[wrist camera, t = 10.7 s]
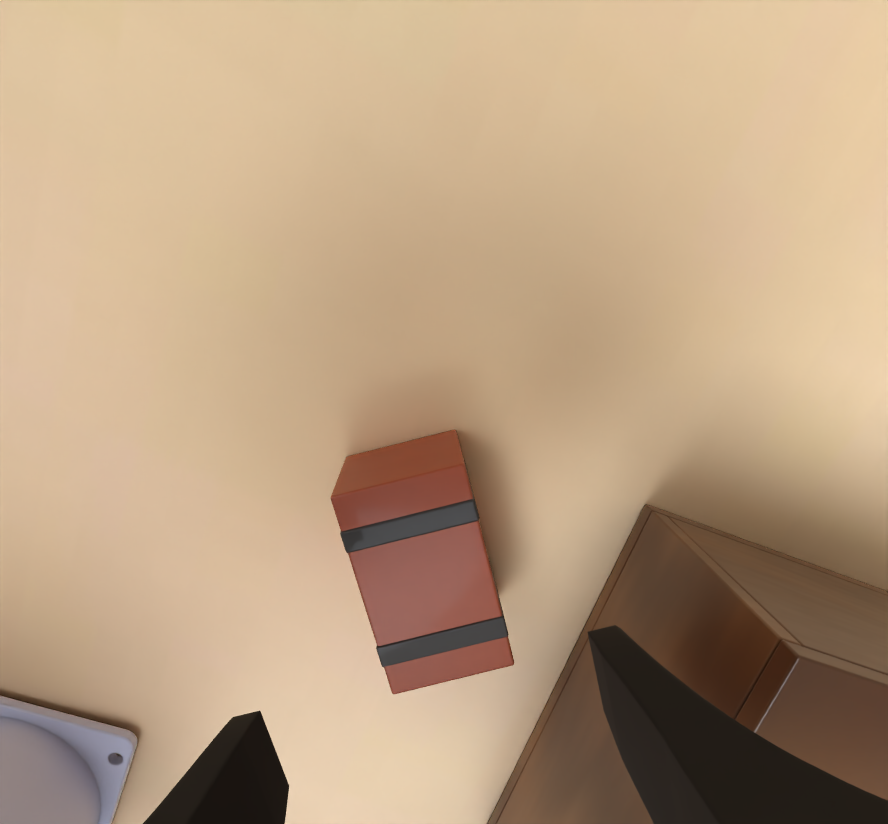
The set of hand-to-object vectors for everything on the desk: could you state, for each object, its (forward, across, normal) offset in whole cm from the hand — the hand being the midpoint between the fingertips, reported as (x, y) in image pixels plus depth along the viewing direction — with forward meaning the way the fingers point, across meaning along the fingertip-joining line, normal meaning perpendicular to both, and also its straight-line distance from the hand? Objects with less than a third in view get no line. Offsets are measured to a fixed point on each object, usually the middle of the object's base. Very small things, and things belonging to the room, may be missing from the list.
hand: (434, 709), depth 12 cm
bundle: (+8, 0, 0) cm, 8 cm away
